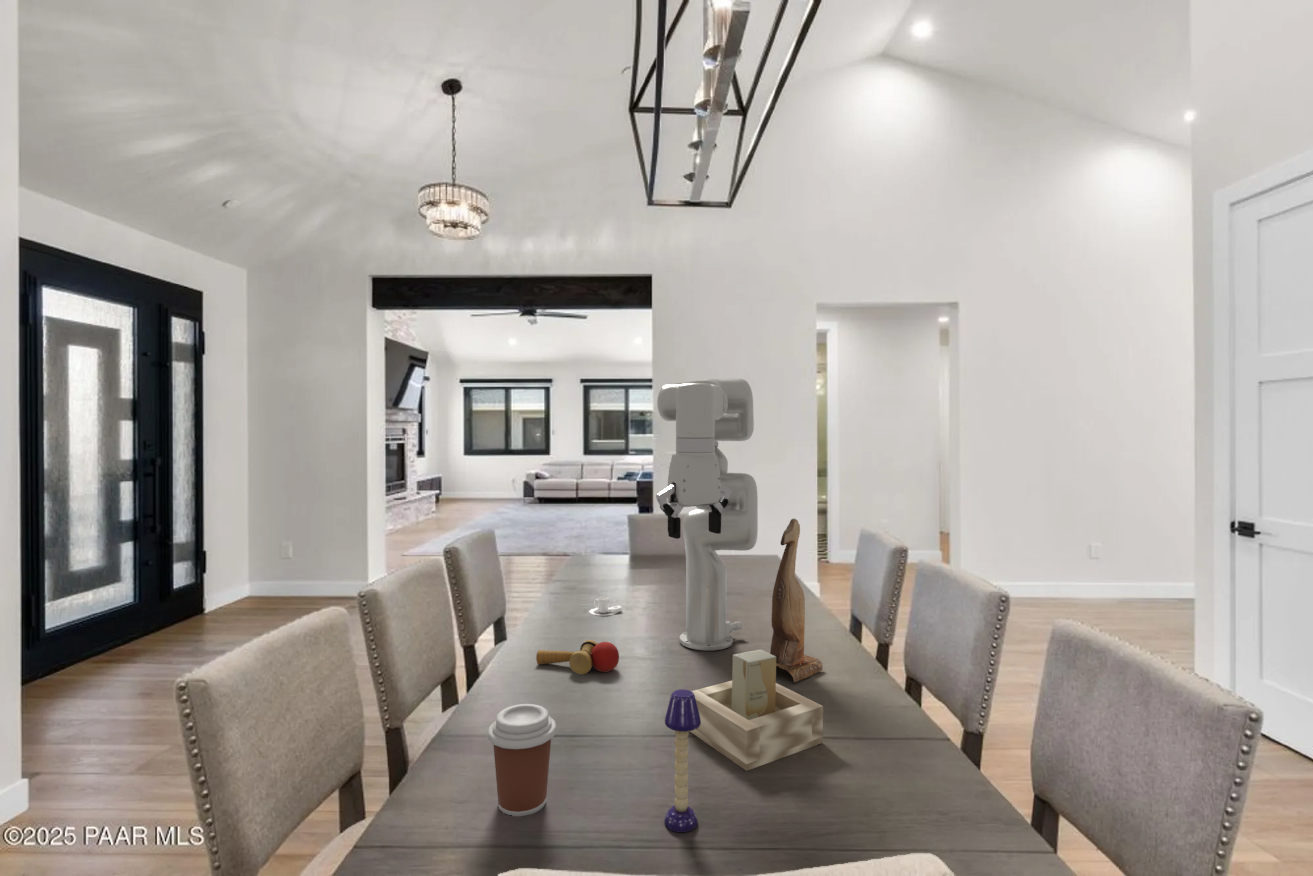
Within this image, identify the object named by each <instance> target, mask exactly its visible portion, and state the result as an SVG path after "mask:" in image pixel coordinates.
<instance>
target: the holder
mask: <svg viewBox="0 0 1313 876" xmlns="http://www.w3.org/2000/svg"><path fill="white" fill-rule="evenodd" d="M691 691H692V692H693V693H694V695H695V698H696V702H697V706H698V711H699V715H700V720H701V724H700V726H699V727H698V728H697V729H695V730H692V731H689V733H691V734H693V735H694V736H696V737H697V738H698V739H699V740H702V741H703V742H705V743H706V744H707V745H708V746H710V747H711V748H713V749H714V750H716V751H717V752H719V753H720V754H722V755H723V756H725V757H726V758H727V759H728V760H730V761H732V763H734V764H736V765H737V766H739V767H740V768H741V769H743V770H745V772H746V771H750V770H753V769H756V768H759V767H761V766H763V765H764V766H765V765H767V764H770V763H772V762H775V761H777V760H780V759H783V758H785V757H789V756H791V755H794V754H797V753H799V752H802V751H805V750H807V749H810V748H813V747H815V746H818V744H819V745H821V744H824V706H823V705H821V704H820V703H818V702H815V701H814V700H811V699H809V698H808V697H806V696H803V695H801V694H799V693H797V692H796V691H793V690H792V689H789V688H787V687H785V686H783V685H781V684H779V683H777V682H776V693H775V712H773V713H770V714H767V715H764V716H761V717H757V718H754V719H751V720H747V719H746V718H744V717H742V716H741V715H739V714H737V713H736V712H734V711H732V710H731V709H732V680H728V681H726V682H722V683H717V684H713V685H710V686H706V687H702V688H699V689H695V690H694V689H693V690H691Z"/></svg>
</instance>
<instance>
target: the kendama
mask: <svg viewBox="0 0 1313 876" xmlns="http://www.w3.org/2000/svg"><path fill="white" fill-rule="evenodd" d="M579 649H580V650H576V651H568V650H566V651H565V650H544V649H539V650H537V652H536V656H535V657H536V658H535V659H536V663H537V665H539V666H540V665H549V664H557V663H559V664H560V663H567V662H569V667H570V669H571V670H572V671H573V672H574V673H575V674H580V675H586V674H588V673H589V672H590V671H591V669H592V667H594V669H595V670H596V671H598V672H603V673H608V672H610V671H612V670H614V669H615V668H617V666H618V664H619V660H620V654H619V650H618V648H617V647H616V645H615V644H613V643H612V642H609V641H602V642H601V641H600V642H599V643H598V642H596V641H595V640H592V639H587V640H585V641H584V642H582V643H581V645H580V648H579Z"/></svg>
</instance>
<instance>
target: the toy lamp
mask: <svg viewBox="0 0 1313 876" xmlns="http://www.w3.org/2000/svg"><path fill="white" fill-rule="evenodd" d="M692 691H693V690H688V689H684V688H683V689H680V688H679V689H676V690H674V691H673V692H671V694H670V699H669V702H668V705H667V709H666V713H665V717H664V725H665V726H666V727H667V728H668V729H670V730H672V731H674V734H675V740H674V745H675V746H674V747H675V750H674V759H675V762H674V771H675V774H674V784H675V786H674V795H675V798H674V805H672V806H671V807H670V808H669V809H668V810H667V811H666V814H665V815H664V816H665V817H664V825H665V824H666V825H665V827H666V826H667V827H668V828H667V827H666V828H667V829H668V830H670V831H672V830H673V831H672V832H677V833H686V832H689V831H693V830H694V829H695V828H696V827H697V825H698V817H697V814H696V813H695V811H694V809H693V808H691V807H690V806H689V799H688V794H689V787H688V783H689V773H688V770H689V762H688V759H689V749H688V748H689V738H688V736H689V734H690V731H692V730H695V729H697V728H698V727H699V726H700V724H701V720H700V715H699V711H698V706H697V702H696V698H695V695H694V693H693V692H692Z"/></svg>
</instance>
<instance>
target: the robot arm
mask: <svg viewBox="0 0 1313 876" xmlns="http://www.w3.org/2000/svg"><path fill="white" fill-rule="evenodd" d="M656 402H657V405H656V406H657V411H658V413H659V416H660V418H661V419H663V420H664V421H667V422H675V454H671V458H670V463H669V467H668V469H669V470H668V476H667V487H666V488H664V489H663V490H661V491H659V492H658V493H657V494H656V495H655V498H656V501H657V503H658V505H659V508H660V510H661V511H662V512H663V513H664V515H665V516H666V517H667V533H668V535H667V536H668V537H669V538H673V539H676V540H677V539H678V540H679V539H680V538H681V529H682V535H683V540H684V541H683V542H684V548H685V563H686V564H685V568H686V570H685V571H686V574H685V577H686V578H685V585H686V586H685V590H686V591H685V631H683V632H682V633H681V634H680V635H679V643H680V644H681V646H684V647H686V648H688V649H691V650H696V651H709V652H710V651H720V650H724V649H727V648H730V647H731V646H732V645H733V643H734V640H733V639H734V638H733V636H732V635H731V633H733V631H738V630H742V628H743V623H742V622H741V621H734V622H731V620H727V588H728V587H727V583H728V582H727V578H728V577H727V576H728V575H727V567H726V564H725V562H724V561H723V559H722V558H721V556H720V555H719V554H718V553H717V551H750V550H752V549H753V548H755V546H756V543H757V541H758V529H759V527H758V526H759V525H758V523H759V522H758V517H759V516H758V514H759V513H758V506H759V505H758V501H759V500H758V498H759V497H758V486H757V483H756V480H755V478H754V476H752V475H751V474H749V473H743V472H728V470H729V469H728V467H729V466H728V465H729V462H728V461H729V460H728V459H727V457H726V456H725V454H724V452H722V450H721V449H720V448H719V442H745V441H747V440H749V439H750V438H751V437H752V435H753V432H754V426H755V420H754V398H753V391H752V388H751V385H750V384H749V382H748V381H747V380H745V379H743V378H705V379H702V380H693V381H686V382H685V381H684V382H676V383H667V384H663V385H662V387H660V389H659V392H658V395H657V401H656ZM688 507H689V508H690V507H691V508H692V507H696V509H692V510H690V511H689V512H687V513H686V514H685V515H684V518H683V519H682V520H683V521H682V520H681V517H679V515H680V513H681V511H682V510H683V509H684V508H688ZM681 521H682V522H681ZM681 523H682V528H681Z"/></svg>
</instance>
